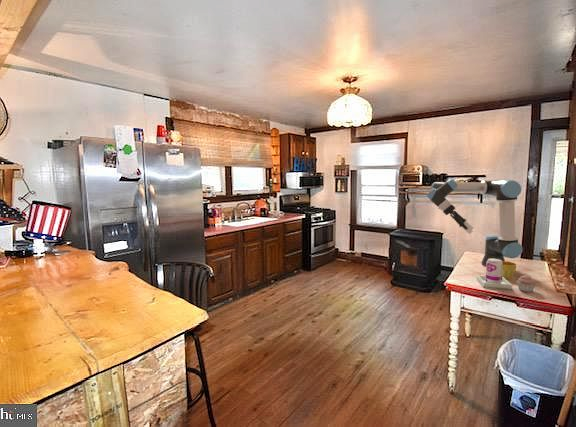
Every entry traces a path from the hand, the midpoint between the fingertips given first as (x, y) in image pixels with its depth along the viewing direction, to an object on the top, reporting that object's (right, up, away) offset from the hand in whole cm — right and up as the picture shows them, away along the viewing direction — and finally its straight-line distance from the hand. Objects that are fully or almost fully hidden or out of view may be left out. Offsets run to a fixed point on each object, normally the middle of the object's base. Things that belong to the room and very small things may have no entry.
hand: (471, 231), depth 194 cm
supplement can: (+7, -32, -10) cm, 35 cm away
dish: (+7, -33, -10) cm, 35 cm away
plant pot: (+24, -31, +2) cm, 40 cm away
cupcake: (+19, -34, -20) cm, 44 cm away
